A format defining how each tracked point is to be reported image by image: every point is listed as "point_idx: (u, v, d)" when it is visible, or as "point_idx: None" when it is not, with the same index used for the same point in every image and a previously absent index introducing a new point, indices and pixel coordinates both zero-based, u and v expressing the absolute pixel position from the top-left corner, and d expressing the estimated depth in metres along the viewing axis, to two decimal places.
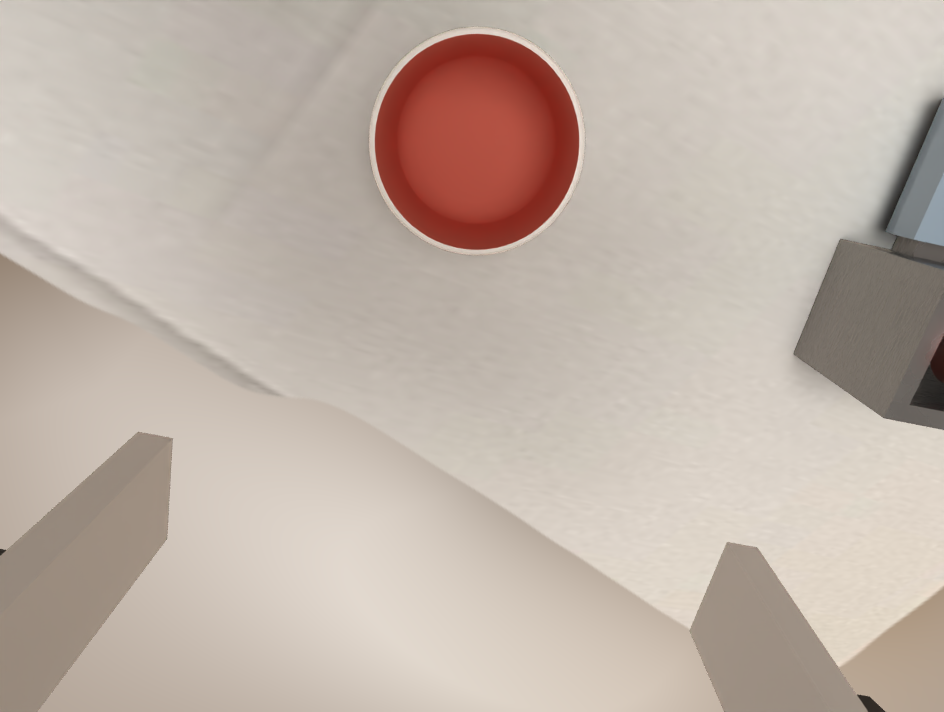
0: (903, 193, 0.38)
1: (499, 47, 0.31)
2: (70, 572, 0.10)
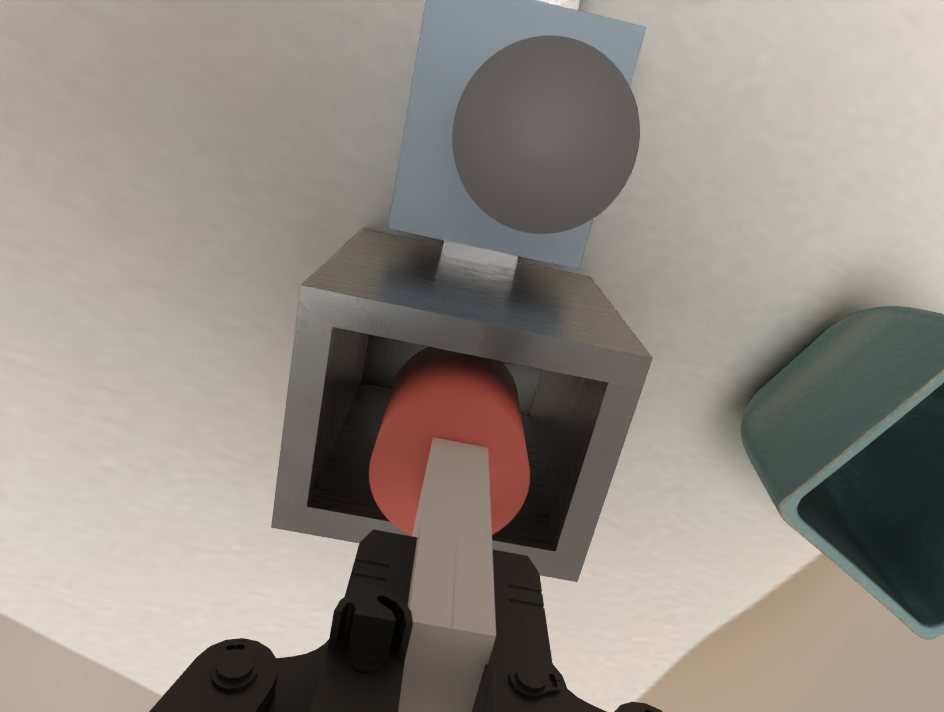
0: None
1: None
2: None
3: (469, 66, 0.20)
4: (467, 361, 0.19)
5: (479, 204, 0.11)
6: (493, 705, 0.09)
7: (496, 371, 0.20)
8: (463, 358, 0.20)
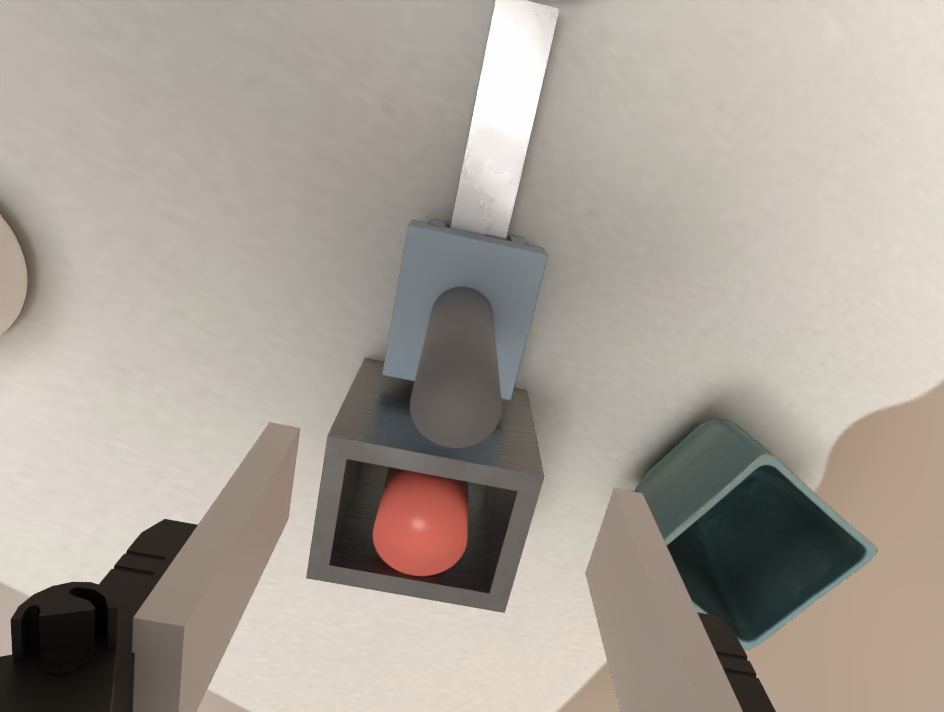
0: None
1: None
2: (246, 541, 0.12)
3: (434, 278, 0.31)
4: None
5: (424, 435, 0.22)
6: None
7: None
8: None
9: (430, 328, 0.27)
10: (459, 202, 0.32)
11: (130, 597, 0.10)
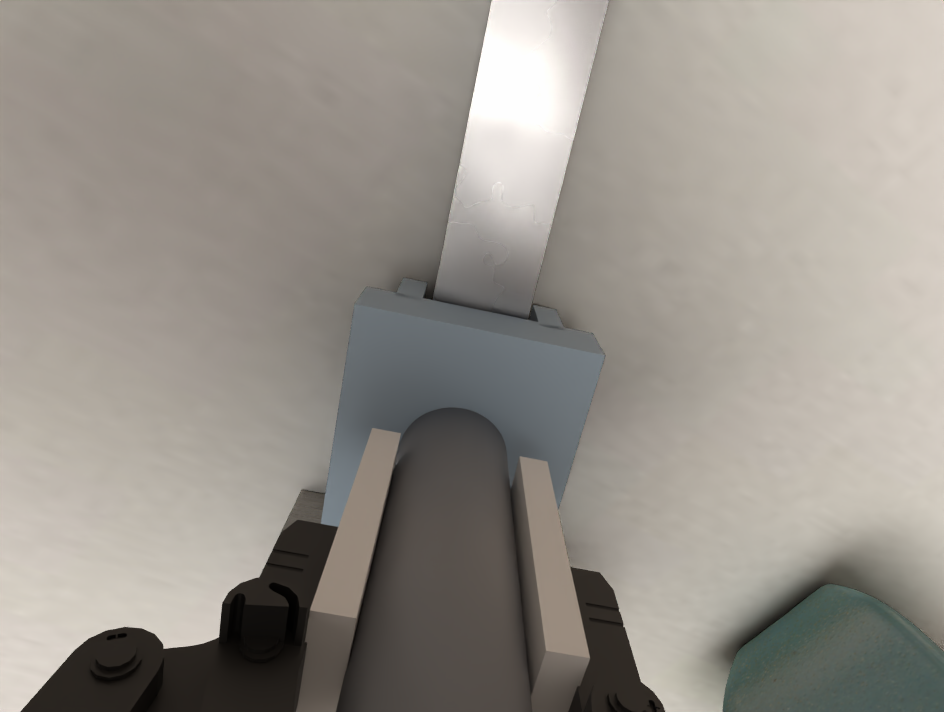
0: None
1: None
2: (376, 540, 0.13)
3: (403, 393, 0.18)
4: None
5: None
6: None
7: None
8: None
9: (385, 533, 0.13)
10: (448, 256, 0.19)
11: None
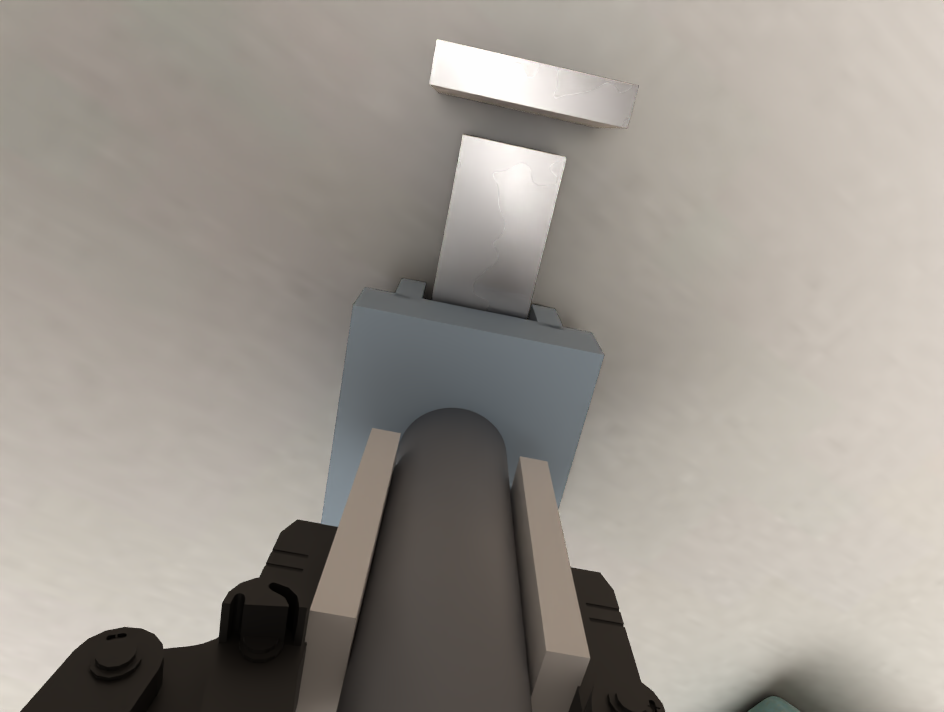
0: None
1: None
2: (375, 540, 0.13)
3: (402, 393, 0.18)
4: None
5: None
6: None
7: None
8: None
9: (384, 534, 0.13)
10: None
11: None
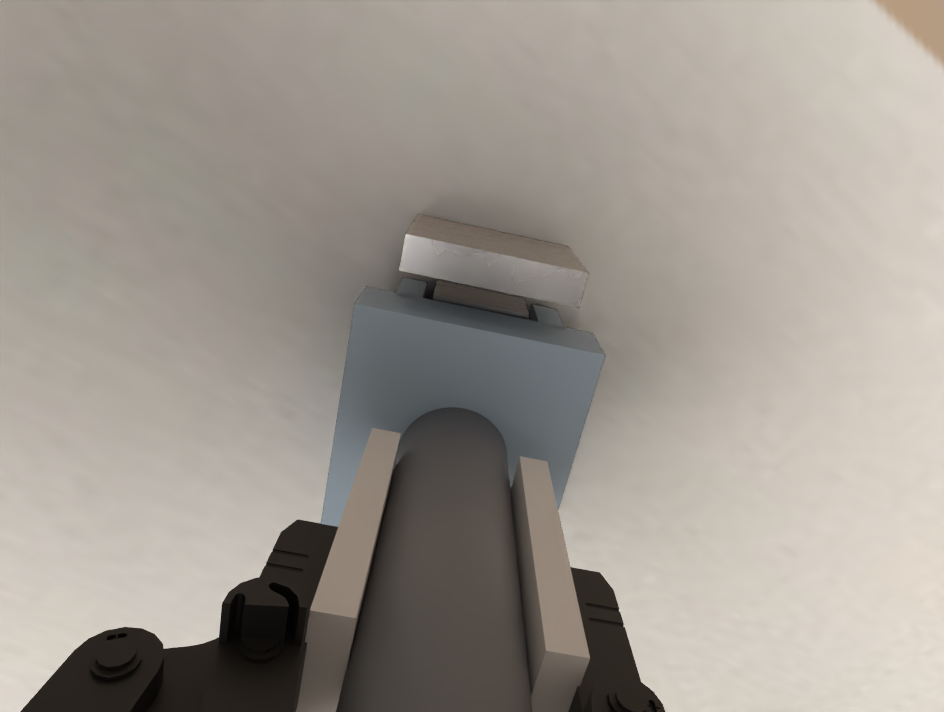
0: None
1: None
2: (376, 540, 0.13)
3: (403, 393, 0.18)
4: None
5: None
6: None
7: None
8: None
9: (385, 533, 0.13)
10: None
11: None
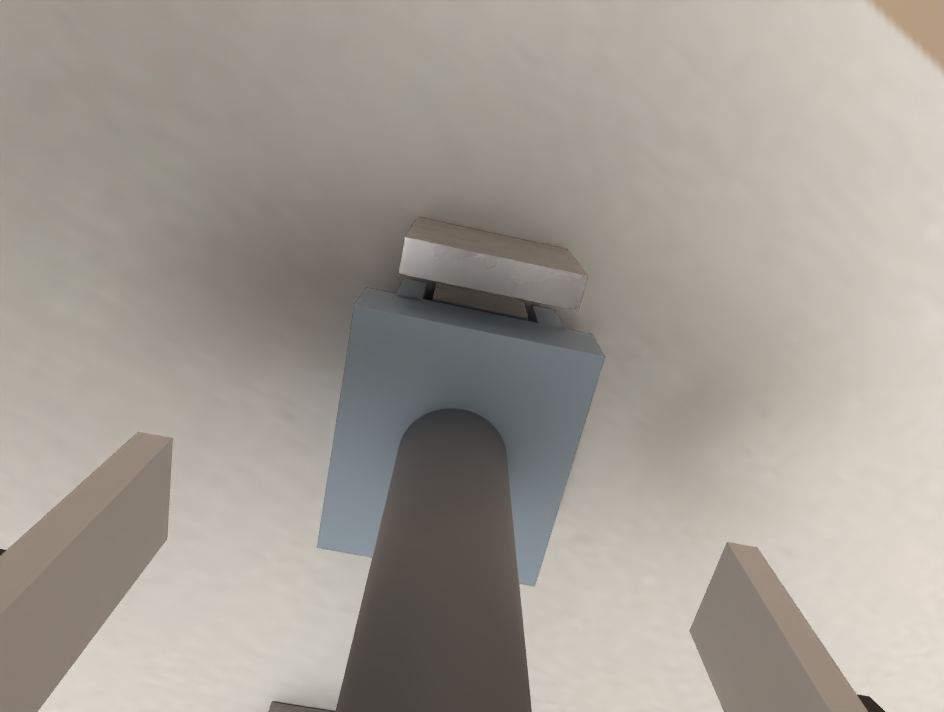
0: None
1: None
2: (70, 572, 0.10)
3: (403, 394, 0.18)
4: None
5: None
6: None
7: None
8: None
9: (384, 534, 0.13)
10: None
11: None
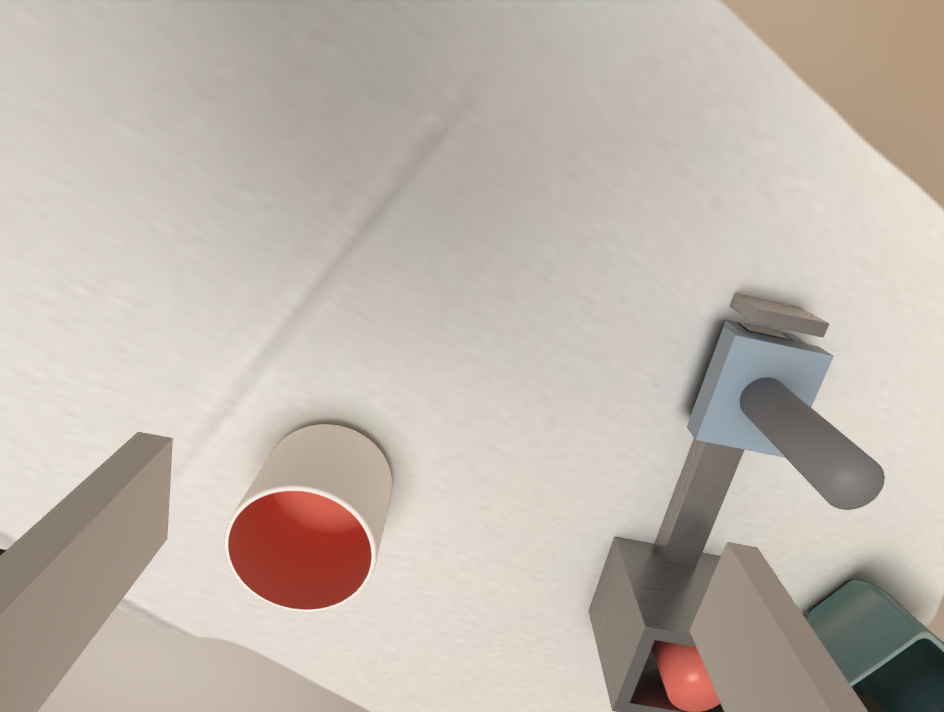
0: (700, 390, 0.47)
1: None
2: (70, 572, 0.10)
3: (747, 371, 0.43)
4: None
5: (828, 501, 0.33)
6: None
7: None
8: None
9: (780, 417, 0.38)
10: (706, 449, 0.47)
11: None
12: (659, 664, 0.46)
